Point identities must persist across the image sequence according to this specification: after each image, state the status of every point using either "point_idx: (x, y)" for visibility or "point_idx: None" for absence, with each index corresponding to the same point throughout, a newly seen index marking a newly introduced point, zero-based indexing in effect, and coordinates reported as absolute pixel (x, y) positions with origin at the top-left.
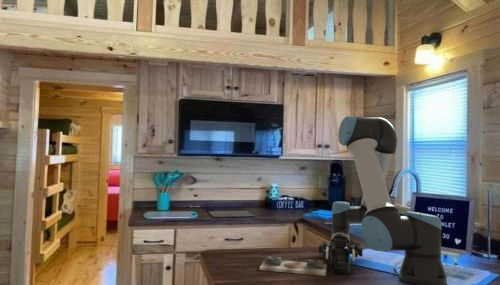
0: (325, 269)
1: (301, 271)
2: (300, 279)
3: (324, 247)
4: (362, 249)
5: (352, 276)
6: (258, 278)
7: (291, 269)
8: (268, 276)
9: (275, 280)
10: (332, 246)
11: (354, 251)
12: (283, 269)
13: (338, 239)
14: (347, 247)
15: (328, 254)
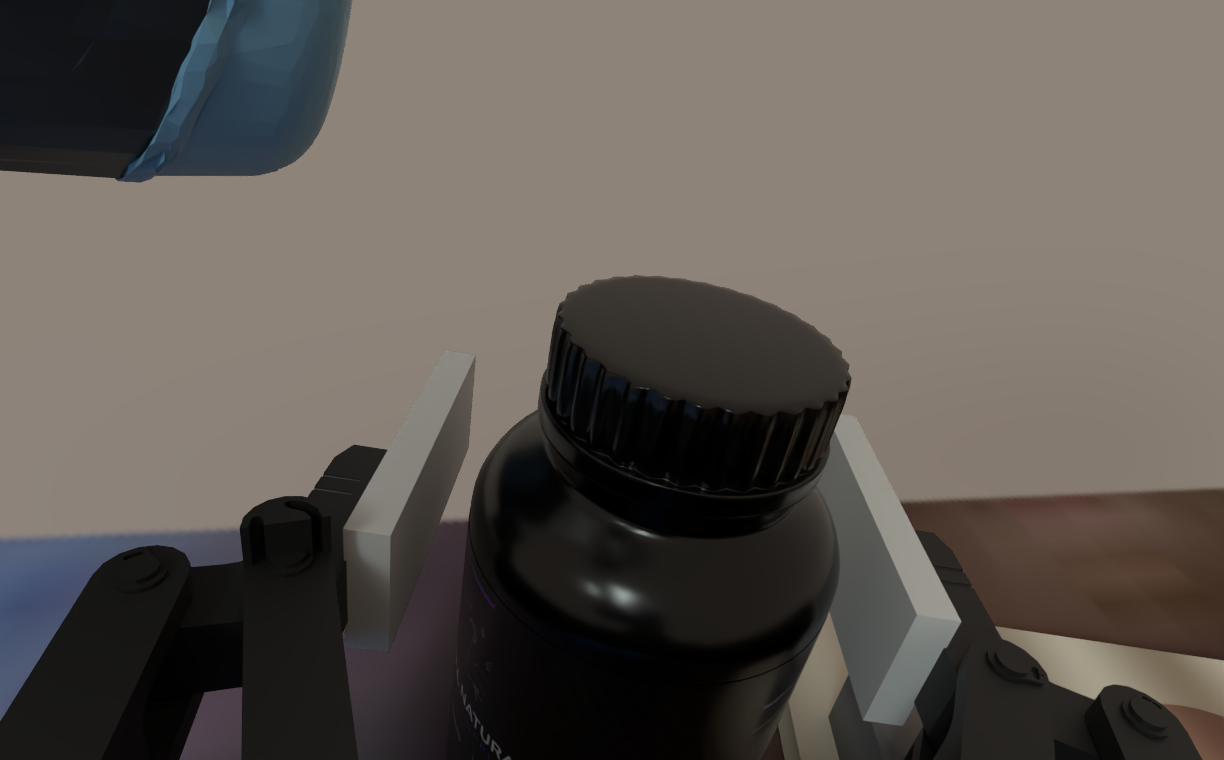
0: (799, 718)
1: (1024, 635)
2: (929, 518)
3: (1002, 641)
4: (102, 567)
5: (450, 624)
6: (1203, 520)
7: (1152, 664)
8: (1191, 560)
9: (1072, 494)
10: (822, 508)
11: (417, 405)
12: (1221, 661)
13: (739, 325)
14: (528, 427)
15: (862, 714)
